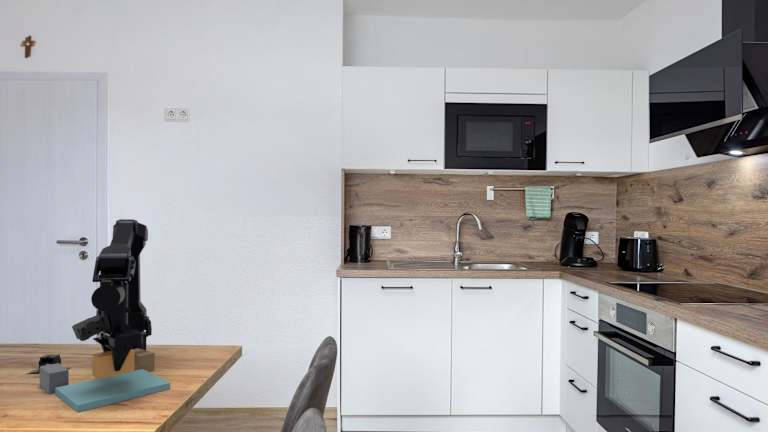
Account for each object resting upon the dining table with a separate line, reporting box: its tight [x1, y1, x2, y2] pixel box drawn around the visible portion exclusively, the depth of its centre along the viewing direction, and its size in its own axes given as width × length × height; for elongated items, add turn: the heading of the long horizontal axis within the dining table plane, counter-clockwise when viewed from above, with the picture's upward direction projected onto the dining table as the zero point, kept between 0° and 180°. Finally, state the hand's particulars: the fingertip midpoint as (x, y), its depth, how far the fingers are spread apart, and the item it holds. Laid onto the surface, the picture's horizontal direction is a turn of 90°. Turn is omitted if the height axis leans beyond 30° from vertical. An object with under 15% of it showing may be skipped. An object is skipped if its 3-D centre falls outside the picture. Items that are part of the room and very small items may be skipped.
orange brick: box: [91, 349, 135, 379], centre depth 118 cm, size 8×4×5 cm, turn 137°
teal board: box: [54, 369, 171, 413], centre depth 118 cm, size 20×16×2 cm
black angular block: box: [25, 354, 71, 375], centre depth 134 cm, size 12×7×5 cm, turn 95°
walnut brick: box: [133, 348, 155, 373], centre depth 135 cm, size 8×4×5 cm, turn 56°
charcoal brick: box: [38, 363, 70, 395], centre depth 120 cm, size 8×4×5 cm, turn 48°
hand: (113, 369), depth 119 cm, fingers closed on orange brick, 4 cm apart
